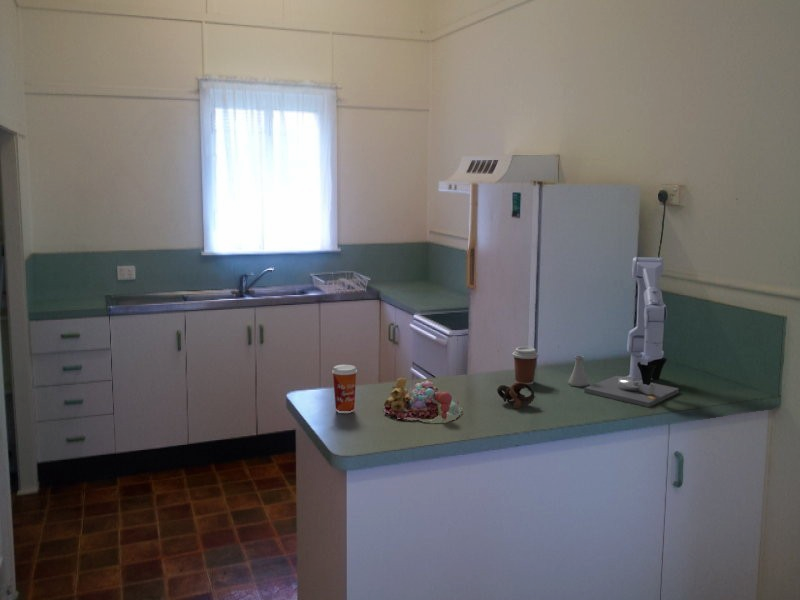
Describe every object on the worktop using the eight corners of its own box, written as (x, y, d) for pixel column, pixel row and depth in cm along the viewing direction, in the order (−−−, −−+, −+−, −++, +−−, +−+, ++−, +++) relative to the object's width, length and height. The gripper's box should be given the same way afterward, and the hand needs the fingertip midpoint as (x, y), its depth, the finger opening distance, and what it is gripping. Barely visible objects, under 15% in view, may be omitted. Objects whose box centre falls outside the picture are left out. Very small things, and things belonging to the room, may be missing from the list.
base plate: (616, 379, 272) (616, 374, 271) (678, 392, 256) (679, 387, 256) (584, 392, 256) (584, 387, 256) (648, 407, 240) (649, 402, 240)
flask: (587, 381, 269) (588, 354, 267) (590, 387, 261) (591, 359, 260) (566, 381, 269) (567, 353, 267) (569, 387, 262) (570, 358, 260)
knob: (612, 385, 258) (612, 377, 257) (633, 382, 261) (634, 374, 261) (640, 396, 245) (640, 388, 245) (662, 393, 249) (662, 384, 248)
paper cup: (338, 416, 230) (337, 371, 228) (328, 409, 237) (328, 365, 234) (361, 412, 234) (361, 368, 231) (351, 405, 240) (351, 363, 238)
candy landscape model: (376, 421, 227) (376, 391, 225) (389, 398, 250) (389, 371, 248) (460, 426, 223) (460, 395, 222) (465, 402, 246) (465, 374, 244)
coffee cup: (541, 381, 269) (542, 348, 267) (531, 387, 262) (532, 353, 259) (517, 377, 274) (518, 344, 272) (507, 383, 266) (508, 349, 264)
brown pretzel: (532, 401, 247) (538, 384, 242) (527, 422, 240) (534, 404, 235) (496, 390, 249) (502, 372, 244) (490, 410, 242) (496, 392, 236)
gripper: (650, 335, 255) (647, 374, 257) (632, 343, 244) (630, 384, 246) (671, 338, 250) (668, 378, 253) (654, 346, 239) (651, 388, 242)
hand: (650, 381), depth 249 cm, fingers open, 7 cm apart
